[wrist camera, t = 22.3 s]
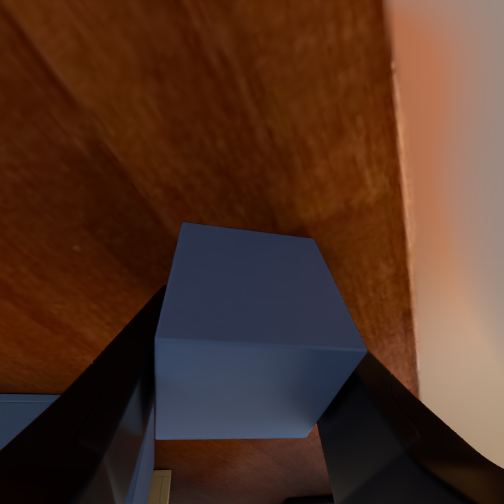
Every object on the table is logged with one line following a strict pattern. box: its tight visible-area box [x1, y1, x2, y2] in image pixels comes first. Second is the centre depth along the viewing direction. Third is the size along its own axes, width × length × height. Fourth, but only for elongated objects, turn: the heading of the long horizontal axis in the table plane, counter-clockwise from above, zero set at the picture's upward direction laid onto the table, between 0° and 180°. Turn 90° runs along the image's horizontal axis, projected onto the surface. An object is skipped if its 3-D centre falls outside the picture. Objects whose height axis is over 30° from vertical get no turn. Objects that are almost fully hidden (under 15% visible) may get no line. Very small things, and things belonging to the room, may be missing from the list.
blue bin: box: [0, 394, 154, 504], centre depth 15 cm, size 10×10×4 cm
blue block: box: [154, 222, 367, 440], centre depth 9 cm, size 4×4×4 cm
